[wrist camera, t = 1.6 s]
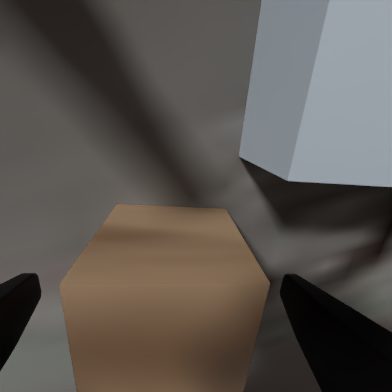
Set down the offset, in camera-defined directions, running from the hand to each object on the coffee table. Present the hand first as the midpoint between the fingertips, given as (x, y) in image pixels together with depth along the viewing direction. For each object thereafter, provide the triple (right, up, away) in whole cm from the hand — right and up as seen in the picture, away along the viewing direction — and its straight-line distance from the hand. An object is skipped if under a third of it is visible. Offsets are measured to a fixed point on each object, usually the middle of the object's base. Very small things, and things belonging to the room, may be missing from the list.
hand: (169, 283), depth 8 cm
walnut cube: (0, +1, +2) cm, 2 cm away
